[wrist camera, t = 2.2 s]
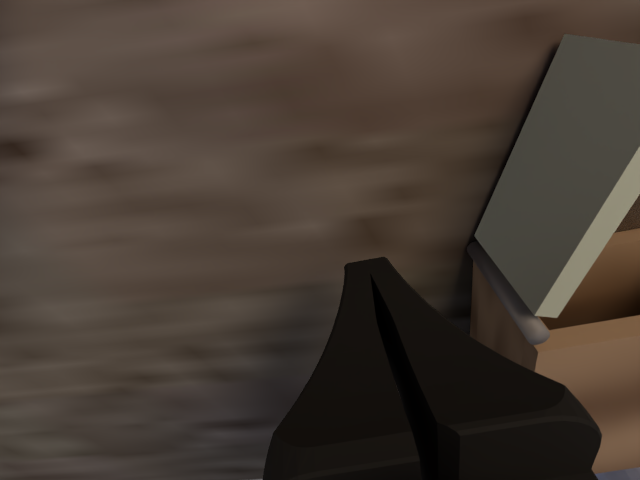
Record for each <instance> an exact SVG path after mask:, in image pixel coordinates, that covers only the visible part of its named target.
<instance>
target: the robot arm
mask: <svg viewBox="0 0 640 480" xmlns="http://www.w3.org/2000/svg"><path fill="white" fill-rule="evenodd" d="M344 270H345V277H344V286H343V292H342V297H341V301H340V306H339V310H338V313H337V316H336V319H335V323H334V326H333V329H332V332H331V334H330V337H329V340H328V342H327V344H326V347H325V349H324V352H323V354H322V356H321V358H320V360H319V362H318V364H317V366H316V368H315V370H314V372H313V374H312V376H311V377H310V379H309V381H308V383H307V384H306V386H305V388H304V389H303V391H302V392H301V394H300V396H299V397H298V399H297V401H296V402H295V404H294V405H293V407H292V408H291V409H290V411H289V412H288V414H287V415H286V416H285V418H284V419H283V420H282V422H281V423H280V425H279V426H278V427H277V429H276V430H275V431H274V433H273V436H272V439H271V443H270V446H269V450H268V454H267V458H266V463H265V469H264V475H263V480H640V467H638V468H631V469H624V470H618V471H611V472H604V473H597V474H594V472H593V470H592V466H593V463H594V461H595V458H596V456H597V453H598V451H599V448H600V445H601V440H602V433H601V431H600V429H599V427H598V425H597V424H596V422H595V421H594V420H593V418H592V417H591V415H590V414H589V413H588V411H587V410H586V409H585V408H584V406H583V405H582V404H581V403H580V402H579V400H578V399H577V398H576V397H575V396H574V395H573V394H572V393H571V392H570V390H569V389H568V388H567V387H566V386H565V385H563V384H561V383H559V382H556V381H554V380H552V379H550V378H547V377H545V376H543V375H541V374H538V373H536V372H534V371H532V370H529V369H527V368H525V367H523V366H521V365H519V364H517V363H515V362H513V361H511V360H509V359H508V358H506V357H504V356H502V355H500V354H498V353H497V352H495V351H493V350H492V349H490V348H488V347H487V346H485V345H483V344H482V343H480V342H478V341H477V340H475V339H474V338H472V337H471V336H469V335H468V334H466V333H465V332H463V331H462V330H461V329H459V328H458V327H457V326H455V325H454V324H452V323H451V322H450V321H449V320H447V319H446V318H445V317H443V316H442V315H441V314H440V313H439V312H437V311H436V310H435V309H434V308H433V307H432V306H431V305H429V304H428V303H427V302H426V301H425V300H424V299H423V298H422V297H421V296H420V295H419V294H418V293H417V292H416V291H415V290H414V289H413V288H412V287H411V286H410V285H409V284H408V283H407V282H406V281H405V280H404V279H403V278H402V276H401V275H400V274H399V273H398V272H397V271H396V269H395V268H394V267H393V266H392V264H391V263H390V262H389V260H388V259H387V258H385V257H380V258H374V259H369V260H363V261H358V262H352V263H347V264H346V265H345V267H344ZM394 380H395V381H394ZM395 383H396V384H395ZM396 386H397V387H396ZM397 389H398V390H397ZM398 391H399V393H398ZM399 394H400V396H399ZM400 398H401V399H400Z"/></svg>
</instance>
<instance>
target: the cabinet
mask: <svg viewBox="0 0 640 480" xmlns="http://www.w3.org/2000/svg"><path fill="white" fill-rule="evenodd" d="M538 318H539V319H540V320H541V322H542V323H543V324H544V326H545V327H546V328H547V330H548V331H549V332H550V337H549V338H548V340H547V341H545V342H544V343H542V344H538V345H532V344H530V343H529V342H528V341H527V339H526V338H525V336H524V335H523V333H522V332H521V330H520V329H519V327H518V326H517V324H516V323H515V321H514V320H513V319H512V317H511V316H510V314H509V313H508V311H507V310H506V308H505V307H504V305H503V304H502V302H501V301H500V299H499V298H498V296H497V295H496V293H495V292H494V290H493V289H492V288H491V286H490V285H489V283H488V282H487V280H486V279H485V277H484V276H483V274H482V273H481V271H480V270H479V268H478V267H477V265H476V264H475V262H474V261H473V278H472V300H471V322H470V336H471V337H472V338H474V339H475V340H477V341H478V342H480V343H482V344H483V345H485V346H487V347H488V348H490V349H492V350H493V351H495V352H497V353H498V354H500V355H502V356H504V357H506V358H508V359H509V360H511V361H513V362H515V363H517V364H519V365H521V366H523V367H525V368H527V369H529V370H532V371H534V372H536V373H538V374H541V375H543V376H545V377H547V378H550V379H552V380H554V381H556V382H559V383H561V384H563V385H565V386H566V387H567V388H568V389H569V390H570V392H571V393H572V394H573V395H574V396H575V397H576V398H577V399H578V400H579V402H580V403H581V404H582V405H583V406H584V408H585V409H586V410H587V411H588V413H589V414H590V415H591V417H592V418H593V420H594V421H595V422H596V424H597V425H598V427H599V429H600V431H601V433H602V440H601V445H600V448H599V451H598V453H597V456H596V458H595V461H594V463H593V466H592V470H593V472H594V474H597V473H604V472H611V471H618V470H624V469H631V468H638V467H640V228H639V229H633V230H627V231H622V232H616V233H613V235H612V236H611V238H610V239H609V241H608V242H607V244H606V245H605V247H604V248H603V250H602V251H601V253H600V254H599V256H598V257H597V259H596V260H595V262H594V263H593V265H592V266H591V268H590V269H589V271H588V272H587V274H586V275H585V277H584V278H583V280H582V281H581V283H580V284H579V286H578V287H577V289H576V290H575V292H574V293H573V295H572V296H571V298H570V299H569V301H568V302H567V304H566V305H565V307H564V308H563V310H562V311H561V313H560V314H559V316H558V317H557V318H553V317H542V316H538Z"/></svg>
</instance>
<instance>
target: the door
mask: <svg viewBox="0 0 640 480" xmlns="http://www.w3.org/2000/svg"><path fill="white" fill-rule="evenodd" d="M639 194H640V44H633V43H626V42H619V41H612V40H605V39H598V38H591V37H584V36H577V35H570V34H564V36H563V38H562V41H561V43H560V45H559V47H558V50H557V52H556V54H555V56H554V59H553V61H552V63H551V65H550V68H549V70H548V72H547V74H546V76H545V79H544V81H543V83H542V85H541V88H540V90H539V92H538V94H537V97H536V99H535V101H534V103H533V105H532V108H531V110H530V112H529V114H528V117H527V119H526V121H525V123H524V126H523V128H522V130H521V132H520V135H519V137H518V139H517V141H516V143H515V146H514V148H513V150H512V152H511V155H510V157H509V159H508V161H507V164H506V166H505V168H504V170H503V173H502V175H501V177H500V179H499V181H498V184H497V186H496V188H495V190H494V193H493V195H492V197H491V199H490V202H489V204H488V206H487V208H486V211H485V213H484V215H483V217H482V219H481V222H480V224H479V226H478V228H477V231H476V233H475V235H474V236H475V237H476V239H477V240H478V241H474V242H472V243H470V244H469V245H468V247H467V252H468V254H469V255H470V257H471V258H472V259H473V261H474V262H475V264H476V265H477V267H478V268H479V270H480V271H481V273H482V274H483V276H484V277H485V279H486V280H487V282H488V283H489V285H490V286H491V288H492V289H493V290H494V292H495V293H496V295H497V296H498V298H499V299H500V301H501V302H502V304H503V305H504V307H505V308H506V310H507V311H508V313H509V314H510V316H511V317H512V319H513V320H514V321H515V323H516V324H517V326H518V327H519V329H520V330H521V332H522V333H523V335H524V336H525V338H526V339H527V341H528V342H529V343H530V344H532V345H538V344H542V343H544V342H545V341H547V340H548V338H549V337H550V332H549V331H548V330H547V328H546V327H545V326H544V324H543V323H542V322H541V320H540V319H539V318H538V316H542V317H553V318H557V317H558V316H559V314H560V313H561V311H562V310H563V308H564V307H565V305H566V304H567V302H568V301H569V299H570V298H571V296H572V295H573V293H574V292H575V290H576V289H577V287H578V286H579V284H580V283H581V281H582V280H583V278H584V277H585V275H586V274H587V272H588V271H589V269H590V268H591V266H592V265H593V263H594V262H595V260H596V259H597V257H598V256H599V254H600V253H601V251H602V250H603V248H604V247H605V245H606V244H607V242H608V241H609V239H610V238H611V236H612V235H613V233H614V232H615V230H616V229H617V227H618V226H619V224H620V223H621V221H622V220H623V218H624V217H625V215H626V214H627V212H628V211H629V209H630V208H631V206H632V205H633V203H634V202H635V200H636V199H637V197H638V196H639Z"/></svg>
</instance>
